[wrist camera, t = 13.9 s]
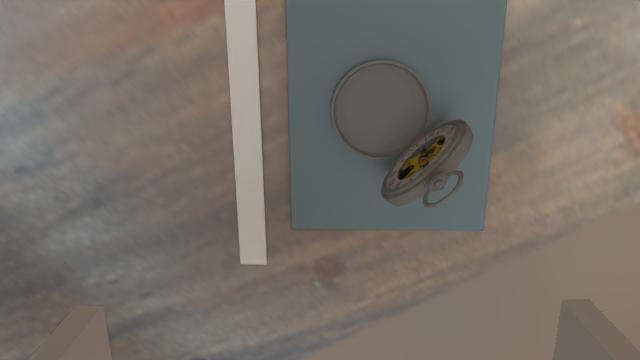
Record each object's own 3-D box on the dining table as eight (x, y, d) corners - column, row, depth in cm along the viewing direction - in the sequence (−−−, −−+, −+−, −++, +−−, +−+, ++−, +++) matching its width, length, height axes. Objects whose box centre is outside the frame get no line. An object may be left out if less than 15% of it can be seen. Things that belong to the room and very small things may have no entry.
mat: (292, 226, 36) (291, 229, 36) (286, -2, 32) (285, -2, 31) (481, 227, 36) (483, 230, 36) (504, -3, 31) (507, -4, 31)
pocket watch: (343, 49, 32) (346, 59, 22) (466, 76, 32) (522, 98, 23) (317, 166, 34) (310, 220, 25) (432, 190, 35) (469, 253, 25)
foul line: (241, 262, 37) (240, 264, 37) (222, -52, 31) (221, -53, 31) (267, 262, 37) (266, 264, 37) (253, -52, 31) (252, -53, 30)
